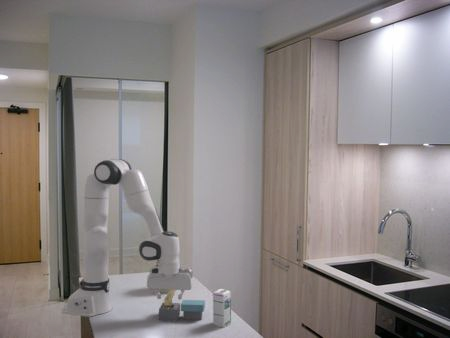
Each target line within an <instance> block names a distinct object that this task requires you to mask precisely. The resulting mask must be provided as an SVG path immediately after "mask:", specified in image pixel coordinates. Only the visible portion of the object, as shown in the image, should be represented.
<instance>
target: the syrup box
mask: <svg viewBox="0 0 450 338" xmlns="http://www.w3.org/2000/svg"><path fill="white" fill-rule="evenodd" d="M231 294H232V292H231V290H229V289H224V288H219V289H217V290H216V291H213V292H212V320H213V321H212V323H213V325H214V326H215V327H220V328H226V327H227V326H229V325H231V323H232V305H231V303H232V300H231V299H232V298H231V297H232V296H231Z"/></svg>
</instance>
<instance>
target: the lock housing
mask: <svg viewBox="0 0 450 338" xmlns="http://www.w3.org/2000/svg"><path fill="white" fill-rule="evenodd" d="M182 312H183V313H182V315H183V318H182V319H183V320H193V321H194V320H195V321H196V320H197V321H202V319H203V312H194V311H182ZM180 315H181V302H172V308H171V307H167V305H164V302H162V303H161V305H160V307H159V308H158V317H159V318H158V320H159V321H170V322H171V321H174V322H175V321H176V322H177V321H178V319H179V317H180Z"/></svg>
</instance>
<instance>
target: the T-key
mask: <svg viewBox="0 0 450 338" xmlns="http://www.w3.org/2000/svg"><path fill="white" fill-rule="evenodd" d="M175 293H176V292H175V291H174V290H170V291H169V293H166V296H165V297H164V302H163V303H164V305H167V307H171V308H172V303H173V298H174V296H175Z"/></svg>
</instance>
